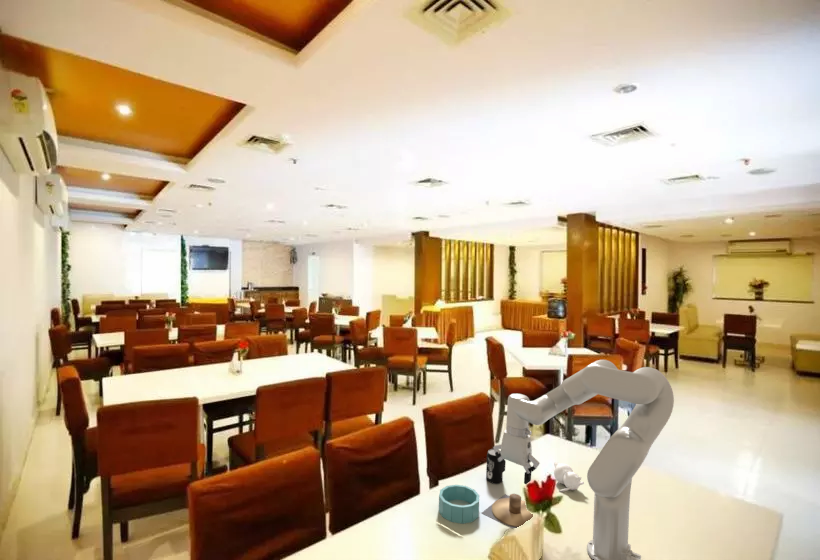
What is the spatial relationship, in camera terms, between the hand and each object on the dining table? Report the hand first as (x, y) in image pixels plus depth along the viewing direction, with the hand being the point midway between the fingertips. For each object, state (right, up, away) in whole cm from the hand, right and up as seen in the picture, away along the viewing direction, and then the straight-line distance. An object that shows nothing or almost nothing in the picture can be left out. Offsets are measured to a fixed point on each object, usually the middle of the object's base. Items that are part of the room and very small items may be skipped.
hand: (514, 477), depth 142 cm
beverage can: (-2, -13, +22) cm, 26 cm away
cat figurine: (+26, -14, +20) cm, 35 cm away
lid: (0, -13, 0) cm, 13 cm away
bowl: (-20, -13, 0) cm, 23 cm away
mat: (0, -13, 0) cm, 13 cm away
